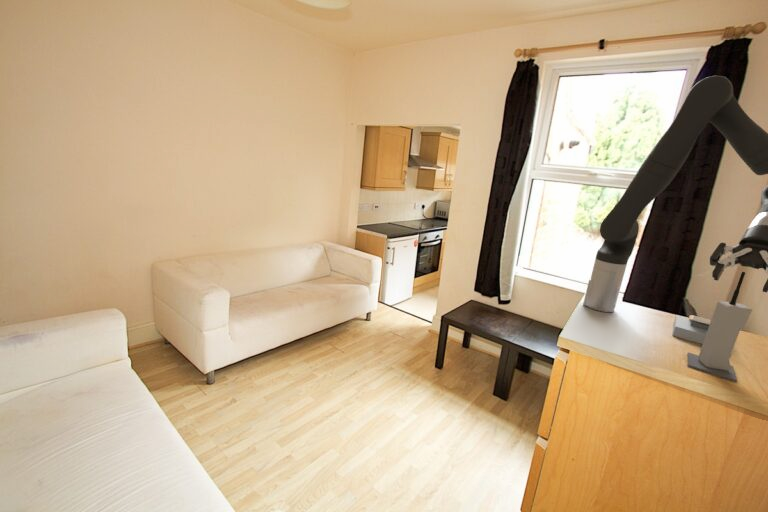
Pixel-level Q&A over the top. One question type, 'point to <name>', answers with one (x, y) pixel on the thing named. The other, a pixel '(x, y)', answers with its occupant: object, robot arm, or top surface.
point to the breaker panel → (690, 329)
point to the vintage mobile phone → (724, 331)
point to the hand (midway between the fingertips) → (739, 284)
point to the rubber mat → (696, 364)
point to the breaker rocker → (700, 319)
